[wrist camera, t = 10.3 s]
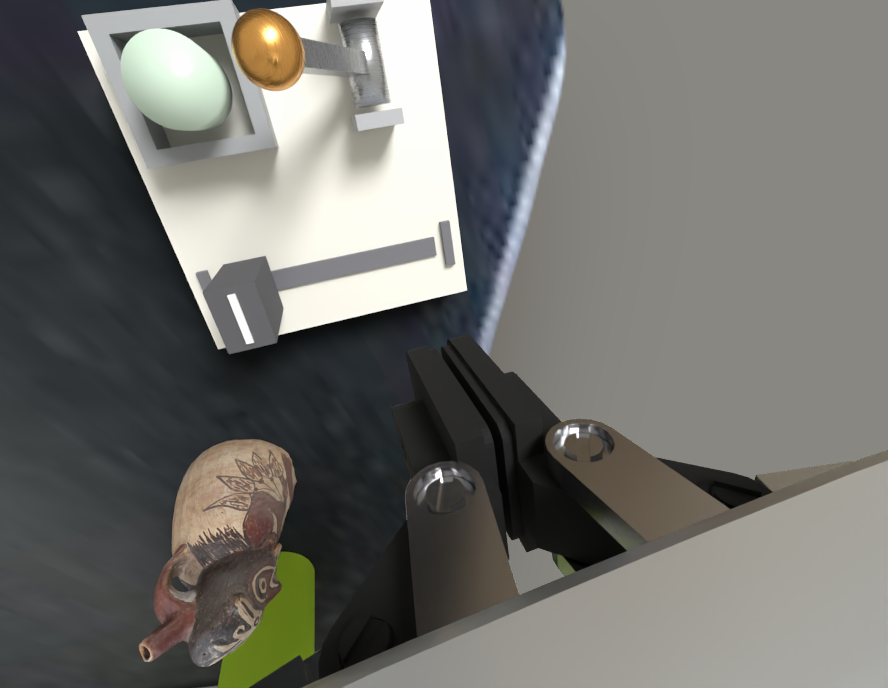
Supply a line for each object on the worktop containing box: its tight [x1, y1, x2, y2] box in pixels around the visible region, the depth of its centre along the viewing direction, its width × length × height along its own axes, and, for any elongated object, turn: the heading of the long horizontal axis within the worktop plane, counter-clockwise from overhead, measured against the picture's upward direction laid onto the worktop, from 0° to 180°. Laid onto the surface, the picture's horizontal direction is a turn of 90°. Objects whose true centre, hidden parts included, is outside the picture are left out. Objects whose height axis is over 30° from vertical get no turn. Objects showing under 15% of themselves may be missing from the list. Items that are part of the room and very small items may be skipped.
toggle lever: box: [231, 8, 391, 108], centre depth 15 cm, size 3×2×9 cm, turn 9°
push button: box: [120, 28, 233, 132], centre depth 16 cm, size 3×3×2 cm
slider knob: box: [203, 256, 284, 354], centre depth 20 cm, size 3×2×4 cm
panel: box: [78, 0, 467, 349], centre depth 21 cm, size 14×14×6 cm
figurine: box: [139, 439, 297, 667], centre depth 25 cm, size 7×7×12 cm
